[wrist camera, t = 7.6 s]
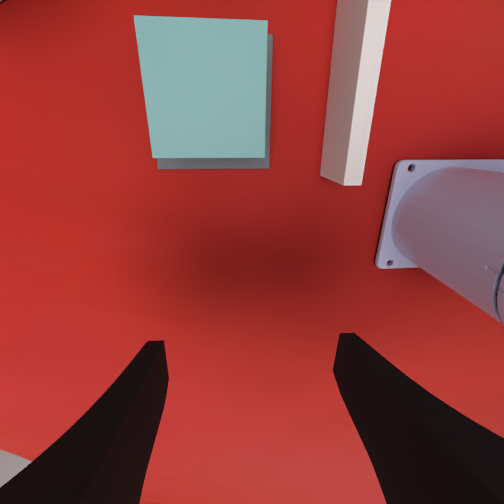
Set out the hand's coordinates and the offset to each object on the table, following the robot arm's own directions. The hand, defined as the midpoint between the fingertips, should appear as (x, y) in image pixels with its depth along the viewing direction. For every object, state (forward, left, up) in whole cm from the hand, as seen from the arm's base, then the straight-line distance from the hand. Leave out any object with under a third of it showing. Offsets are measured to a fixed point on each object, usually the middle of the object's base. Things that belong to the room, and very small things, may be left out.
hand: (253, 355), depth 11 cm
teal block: (+2, -10, -10) cm, 14 cm away
